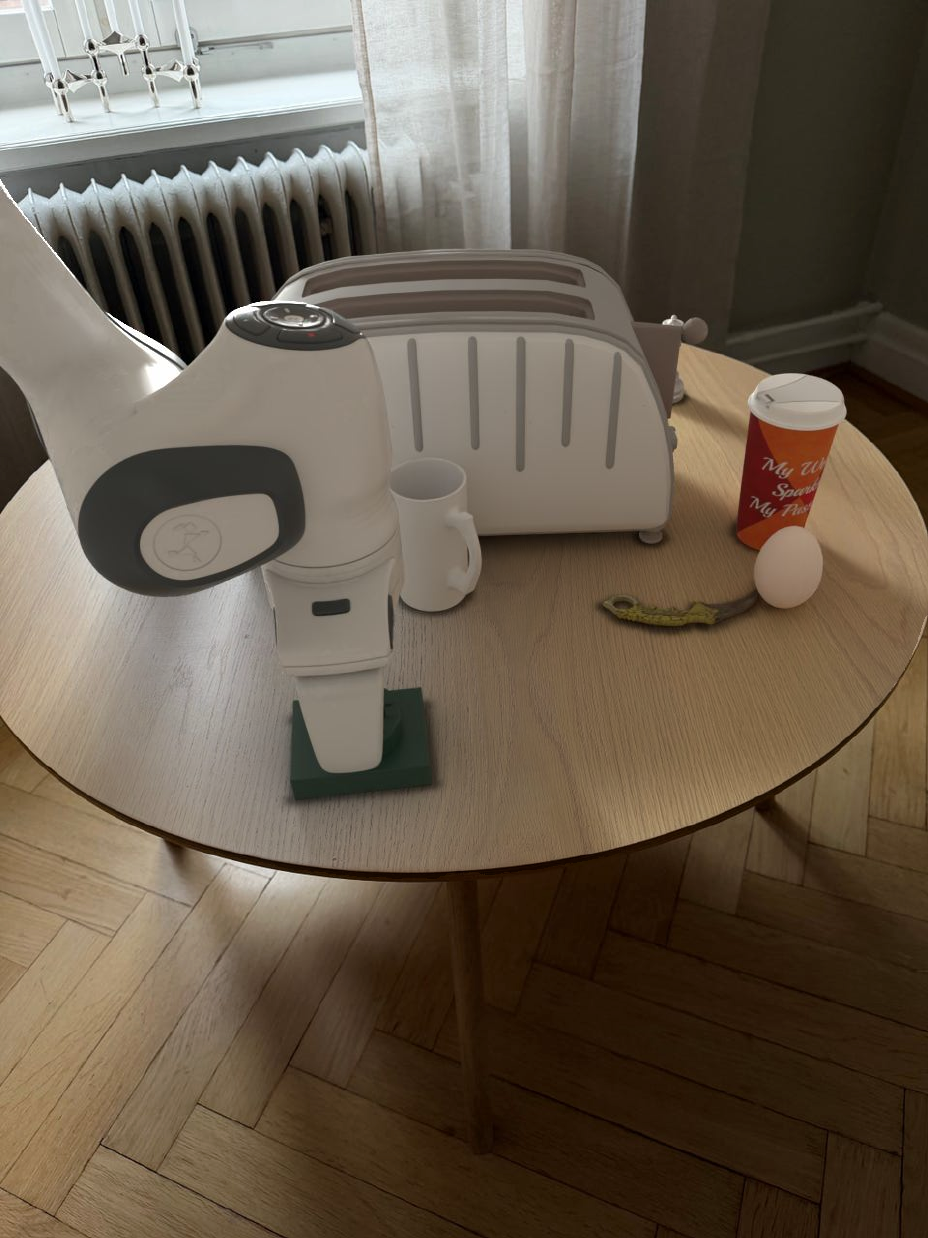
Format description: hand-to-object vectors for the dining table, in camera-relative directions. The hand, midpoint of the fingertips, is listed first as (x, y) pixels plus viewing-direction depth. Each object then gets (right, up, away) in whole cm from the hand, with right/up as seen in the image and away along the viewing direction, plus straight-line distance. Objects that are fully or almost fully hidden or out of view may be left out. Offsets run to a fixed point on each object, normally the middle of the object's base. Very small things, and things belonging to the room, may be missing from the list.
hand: (357, 713), depth 67 cm
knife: (+27, +7, +14) cm, 32 cm away
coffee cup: (+37, +15, +22) cm, 46 cm away
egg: (+36, +8, +14) cm, 39 cm away
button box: (0, -3, +3) cm, 4 cm away
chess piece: (+32, +34, +44) cm, 64 cm away
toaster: (+8, +19, +29) cm, 36 cm away
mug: (+6, +8, +16) cm, 19 cm away
